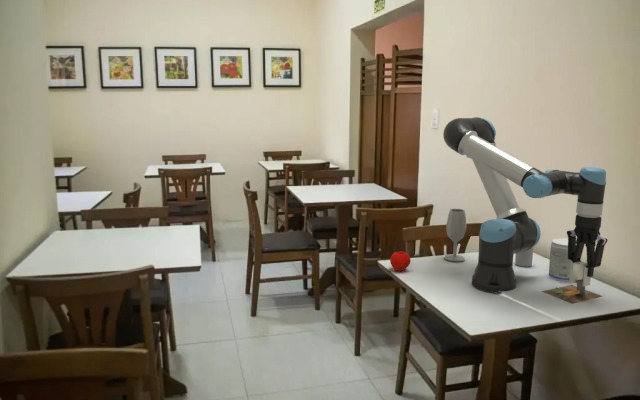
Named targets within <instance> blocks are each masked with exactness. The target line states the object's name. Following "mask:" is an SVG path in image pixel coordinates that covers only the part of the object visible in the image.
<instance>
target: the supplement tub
mask: <svg viewBox="0 0 640 400" xmlns="http://www.w3.org/2000/svg"><path fill="white" fill-rule="evenodd" d="M548 263H549V265H548V277H549V278H550V279H552V280H555V281H559V282H564V283H567V282H568V283H569V282H570V283H573V279H572V268H573V262H572V261H571V260H569V259H568V238H553V239H552V240H551V243H550V253H549V262H548Z"/></svg>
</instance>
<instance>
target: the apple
mask: <svg viewBox="0 0 640 400" xmlns="http://www.w3.org/2000/svg"><path fill="white" fill-rule="evenodd" d="M389 261H390V265H391V268H393V269H394V270H395V271H396V270H398V271H397V272H402V270H403V271H405V270H407V268H408V267H409V266H410V264H411V262H412V260H411V257H410V255H409V254H408V253H407V252H405V251H396V252H393V253H392V254H391V256H390V258H389Z"/></svg>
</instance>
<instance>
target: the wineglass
mask: <svg viewBox="0 0 640 400" xmlns="http://www.w3.org/2000/svg"><path fill="white" fill-rule="evenodd" d="M466 216H467V214H466V210H465V209H463V208H450V210H449V213H448V215H447V221H446V226H445V227H446V228H445V229H446V230H445V231H446V233H447V234H446V235H447V237H448V238H449V239H451V240H450V241H452V242H453V249H452V250H453V252H452V254H451V253H450V254H444V257H443V259H444V260H446V261H448V262H455V263H459V262H465V259H466V257H465V256H463V255H461V254H457V252H458V251H457V249H458V242H460V241H461V240H463V239H464V237H465V235H466V231H467V217H466Z"/></svg>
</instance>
